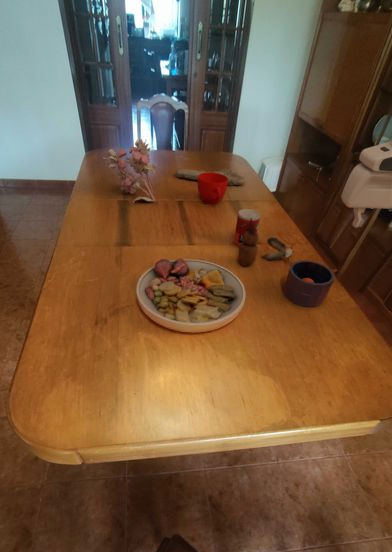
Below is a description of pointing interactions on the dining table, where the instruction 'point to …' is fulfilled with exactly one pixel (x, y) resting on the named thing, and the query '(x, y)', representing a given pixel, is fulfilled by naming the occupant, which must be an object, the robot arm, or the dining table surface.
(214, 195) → the ceramic cup
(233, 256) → the dining table surface
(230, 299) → the bowl
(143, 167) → the flower
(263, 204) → the dining table surface
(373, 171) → the robot arm
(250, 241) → the wooden figurine
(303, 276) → the pot
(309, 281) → the ball
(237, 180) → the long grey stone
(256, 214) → the canned food
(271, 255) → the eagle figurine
